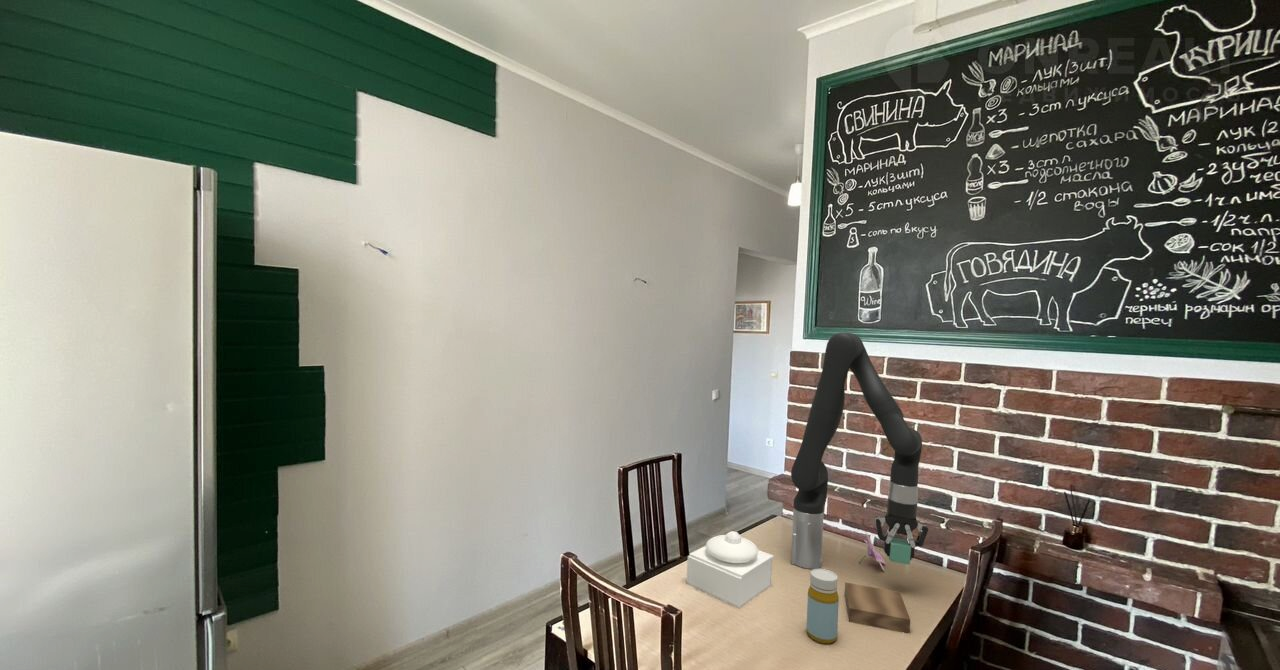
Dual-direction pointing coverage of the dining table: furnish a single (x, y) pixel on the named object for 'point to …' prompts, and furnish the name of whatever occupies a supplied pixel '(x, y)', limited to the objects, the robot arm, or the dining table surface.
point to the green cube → (900, 551)
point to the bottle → (822, 606)
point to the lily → (873, 552)
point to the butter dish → (730, 569)
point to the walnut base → (876, 607)
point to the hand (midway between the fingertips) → (898, 556)
